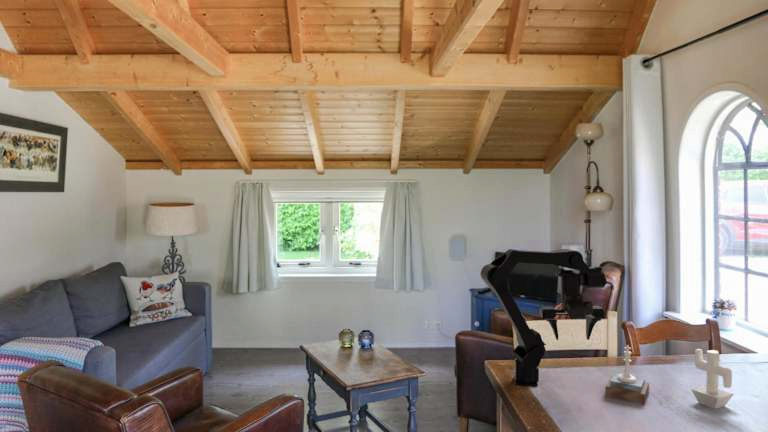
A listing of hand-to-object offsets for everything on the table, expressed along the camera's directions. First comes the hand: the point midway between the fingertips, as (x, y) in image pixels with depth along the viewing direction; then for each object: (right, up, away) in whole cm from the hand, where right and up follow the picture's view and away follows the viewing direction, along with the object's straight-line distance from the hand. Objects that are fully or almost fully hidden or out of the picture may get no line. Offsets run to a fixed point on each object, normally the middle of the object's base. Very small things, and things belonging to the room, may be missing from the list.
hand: (572, 339), depth 152 cm
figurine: (+32, -14, -17) cm, 39 cm away
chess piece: (+12, -9, -11) cm, 18 cm away
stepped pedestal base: (+12, -13, -10) cm, 21 cm away
